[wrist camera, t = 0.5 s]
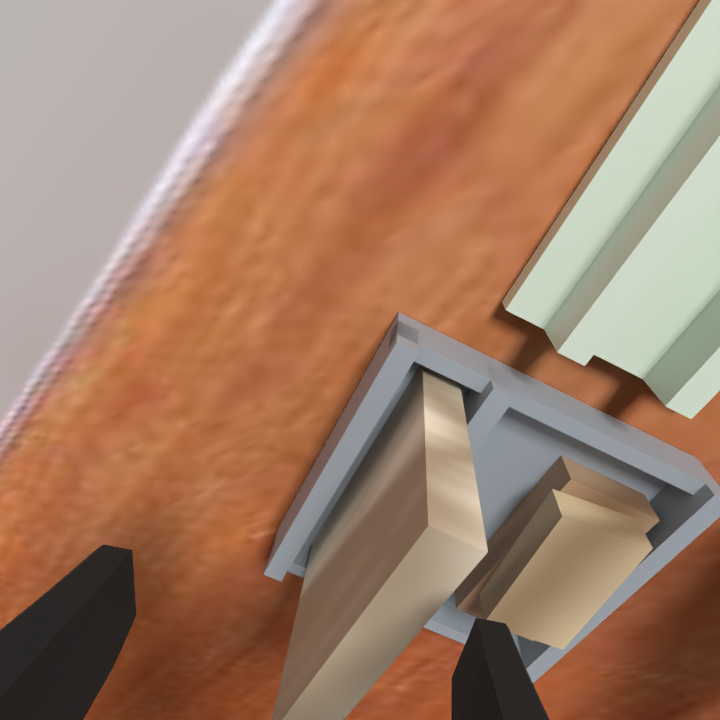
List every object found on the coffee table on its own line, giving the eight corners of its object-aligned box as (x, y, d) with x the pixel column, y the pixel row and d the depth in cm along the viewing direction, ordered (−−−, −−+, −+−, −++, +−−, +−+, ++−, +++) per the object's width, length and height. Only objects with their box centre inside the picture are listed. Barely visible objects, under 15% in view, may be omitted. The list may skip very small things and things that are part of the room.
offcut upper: (636, 518, 19) (652, 548, 18) (554, 618, 21) (563, 649, 20) (552, 488, 19) (561, 516, 17) (479, 592, 21) (483, 623, 20)
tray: (696, 457, 20) (733, 504, 18) (521, 630, 25) (532, 683, 23) (398, 312, 18) (396, 342, 16) (278, 528, 24) (263, 574, 21)
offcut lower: (644, 494, 20) (659, 520, 19) (526, 612, 23) (532, 641, 22) (561, 455, 20) (571, 478, 18) (453, 581, 23) (455, 609, 22)
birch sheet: (459, 379, 18) (487, 551, 11) (343, 553, 23) (312, 756, 16) (422, 361, 18) (427, 525, 11) (313, 540, 23) (266, 739, 16)
